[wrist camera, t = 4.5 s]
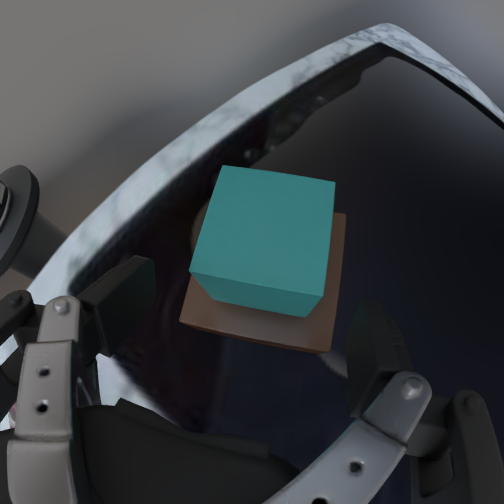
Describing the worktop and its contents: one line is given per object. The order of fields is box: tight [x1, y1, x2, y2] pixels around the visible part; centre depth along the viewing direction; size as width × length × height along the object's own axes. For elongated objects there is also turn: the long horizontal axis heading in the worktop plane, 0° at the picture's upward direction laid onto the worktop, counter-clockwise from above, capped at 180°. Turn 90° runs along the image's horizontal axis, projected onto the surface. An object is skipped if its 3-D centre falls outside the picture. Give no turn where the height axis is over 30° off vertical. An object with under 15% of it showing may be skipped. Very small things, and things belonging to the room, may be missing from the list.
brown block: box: [179, 212, 346, 354], centre depth 19 cm, size 9×9×4 cm
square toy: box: [189, 165, 335, 317], centre depth 15 cm, size 6×6×6 cm
